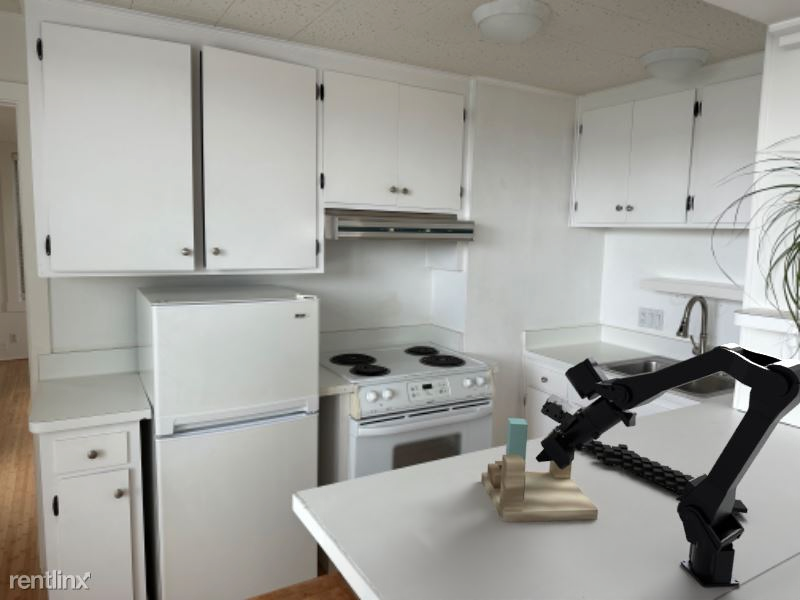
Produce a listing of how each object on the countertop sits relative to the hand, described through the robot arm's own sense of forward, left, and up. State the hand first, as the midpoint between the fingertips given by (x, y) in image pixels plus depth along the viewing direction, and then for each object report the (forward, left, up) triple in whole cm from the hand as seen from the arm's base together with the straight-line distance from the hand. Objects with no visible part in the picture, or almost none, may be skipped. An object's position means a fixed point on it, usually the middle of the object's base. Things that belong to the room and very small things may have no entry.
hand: (537, 459), depth 115 cm
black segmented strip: (+9, -31, -9) cm, 34 cm away
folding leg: (+2, +4, -6) cm, 7 cm away
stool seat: (0, 0, -9) cm, 9 cm away
